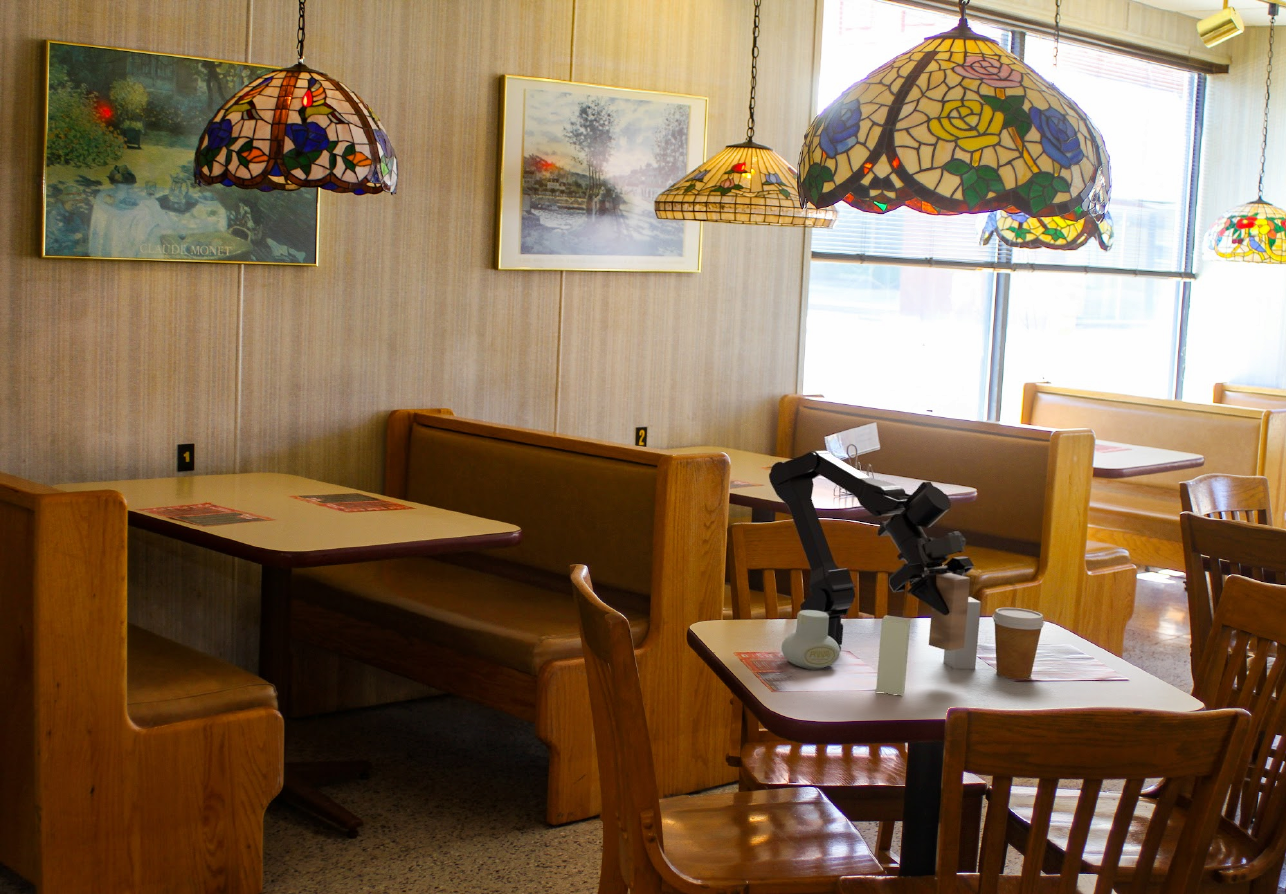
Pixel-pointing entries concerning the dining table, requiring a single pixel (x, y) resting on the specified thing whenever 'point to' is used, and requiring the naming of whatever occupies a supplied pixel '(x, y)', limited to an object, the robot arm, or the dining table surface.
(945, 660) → the grey post
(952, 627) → the walnut post
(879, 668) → the sage post
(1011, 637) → the disposable coffee cup
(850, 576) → the robot arm
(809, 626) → the air freshener
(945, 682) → the dining table surface
